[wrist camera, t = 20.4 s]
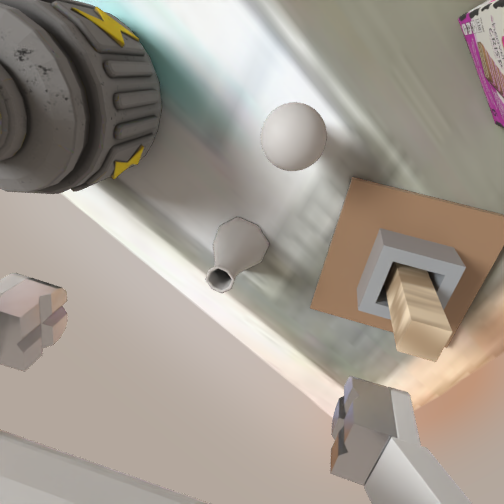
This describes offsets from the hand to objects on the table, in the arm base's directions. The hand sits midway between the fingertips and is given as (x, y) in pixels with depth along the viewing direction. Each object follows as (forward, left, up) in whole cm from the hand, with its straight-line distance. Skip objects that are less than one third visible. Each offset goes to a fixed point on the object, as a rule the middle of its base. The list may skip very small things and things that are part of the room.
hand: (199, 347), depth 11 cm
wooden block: (+12, +15, -36) cm, 41 cm away
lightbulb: (-1, -1, -37) cm, 37 cm away
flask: (+15, -5, -37) cm, 41 cm away
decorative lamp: (+1, -26, -37) cm, 46 cm away
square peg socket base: (+12, +15, -37) cm, 42 cm away
